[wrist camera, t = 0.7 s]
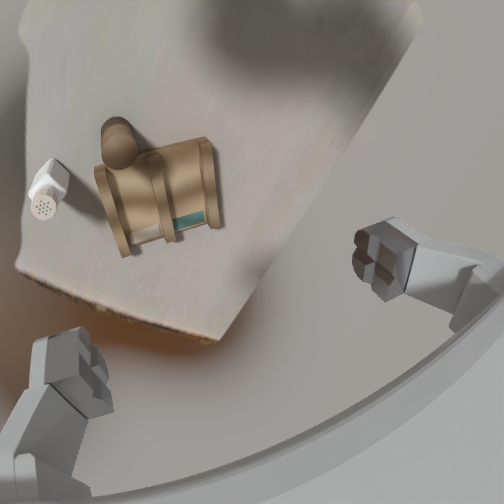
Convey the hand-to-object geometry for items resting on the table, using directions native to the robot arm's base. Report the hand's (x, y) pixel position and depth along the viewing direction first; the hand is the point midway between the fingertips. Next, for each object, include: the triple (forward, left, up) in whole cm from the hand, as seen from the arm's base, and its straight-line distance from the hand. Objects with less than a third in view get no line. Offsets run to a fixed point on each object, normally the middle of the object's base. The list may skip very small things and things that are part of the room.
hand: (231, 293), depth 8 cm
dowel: (+5, -2, -36) cm, 36 cm away
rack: (+16, +2, -36) cm, 39 cm away
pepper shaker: (+8, -12, -36) cm, 39 cm away
